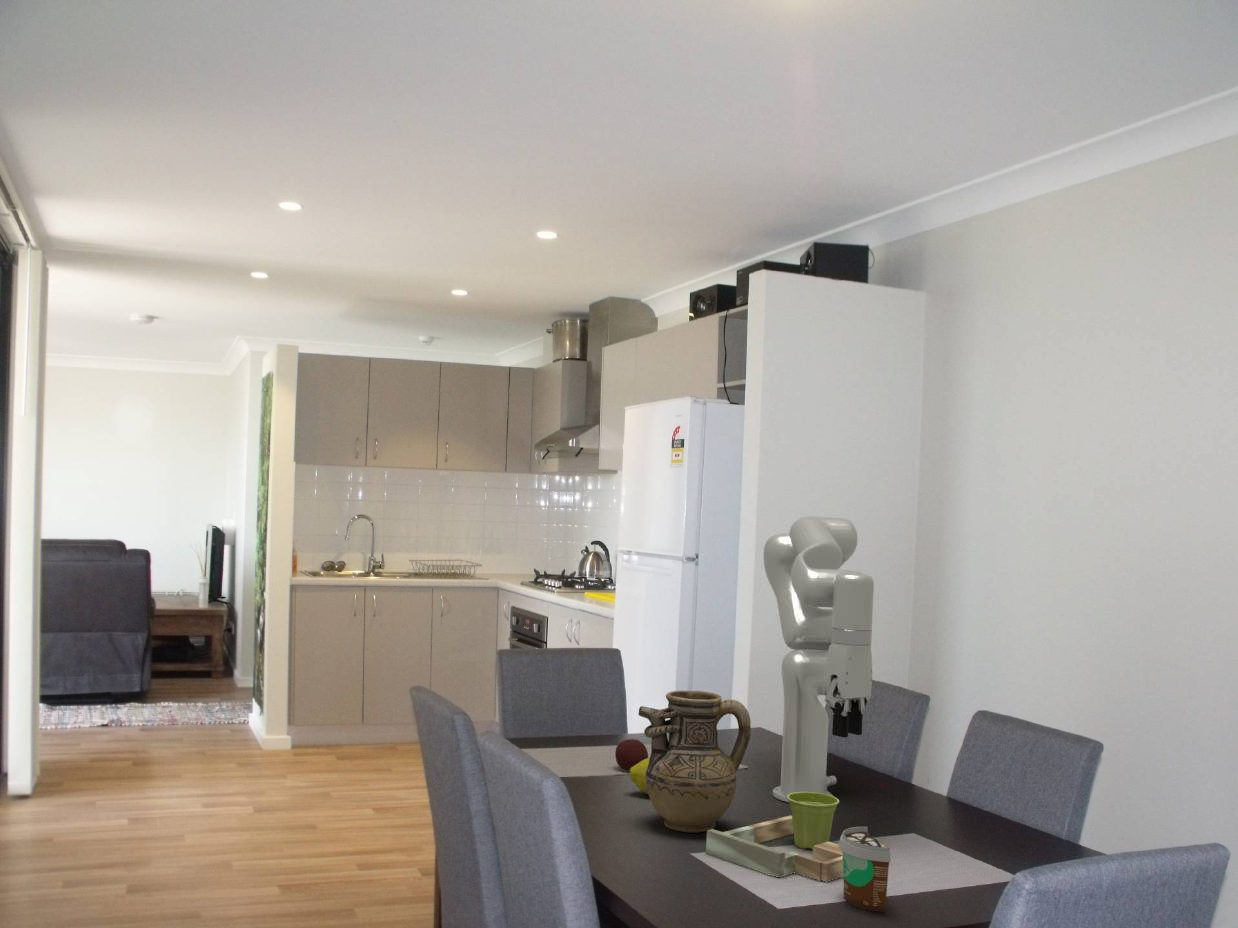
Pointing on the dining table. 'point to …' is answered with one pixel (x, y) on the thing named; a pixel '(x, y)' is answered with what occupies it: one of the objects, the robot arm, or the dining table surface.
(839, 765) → the dining table surface
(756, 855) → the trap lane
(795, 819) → the plant pot
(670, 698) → the decorative pitcher
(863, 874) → the food container
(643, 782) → the lemon
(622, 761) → the dark red ball
